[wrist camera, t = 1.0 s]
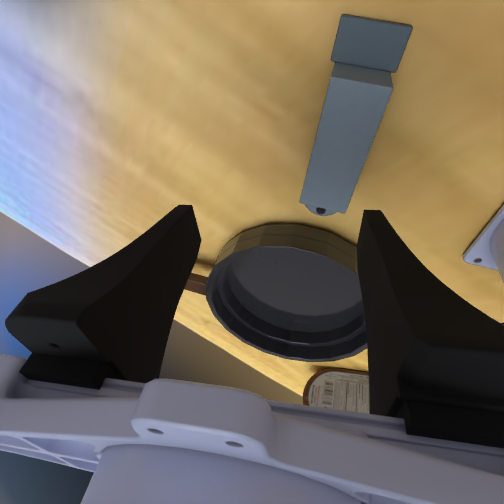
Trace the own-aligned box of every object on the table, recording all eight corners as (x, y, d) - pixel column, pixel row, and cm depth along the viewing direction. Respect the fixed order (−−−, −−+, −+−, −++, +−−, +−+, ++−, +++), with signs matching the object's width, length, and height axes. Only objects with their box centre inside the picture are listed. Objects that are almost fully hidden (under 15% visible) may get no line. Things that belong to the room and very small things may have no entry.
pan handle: (211, 277, 32) (207, 285, 31) (211, 289, 33) (207, 296, 33) (138, 257, 33) (133, 264, 32) (141, 269, 34) (136, 276, 34)
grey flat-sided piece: (342, 13, 18) (337, 23, 15) (411, 25, 17) (420, 37, 14) (298, 192, 26) (290, 220, 23) (345, 203, 25) (342, 232, 23)
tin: (308, 373, 45) (299, 437, 39) (306, 361, 43) (295, 426, 37) (428, 390, 40) (439, 466, 34) (432, 377, 38) (444, 456, 32)
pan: (414, 249, 26) (419, 279, 24) (349, 350, 38) (348, 377, 36) (219, 201, 28) (205, 224, 26) (215, 312, 40) (205, 335, 38)
